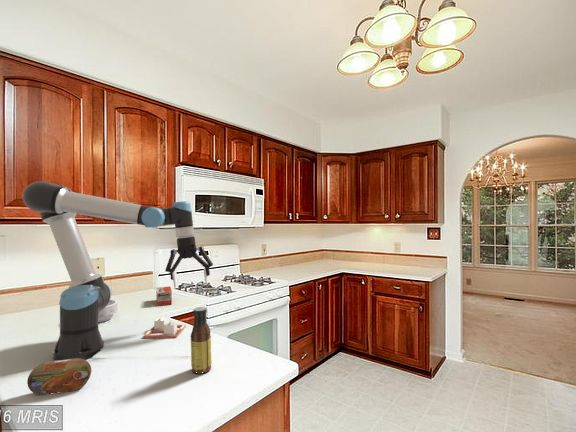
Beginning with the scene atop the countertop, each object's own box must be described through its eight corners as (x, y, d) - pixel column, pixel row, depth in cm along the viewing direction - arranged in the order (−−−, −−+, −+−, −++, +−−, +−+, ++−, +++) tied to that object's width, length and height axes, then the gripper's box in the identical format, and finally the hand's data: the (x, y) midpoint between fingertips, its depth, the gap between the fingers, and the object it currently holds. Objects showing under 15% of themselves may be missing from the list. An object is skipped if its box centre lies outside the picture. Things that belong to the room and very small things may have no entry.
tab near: (173, 336, 126) (173, 323, 127) (163, 336, 126) (163, 324, 126) (176, 333, 130) (176, 320, 130) (167, 333, 130) (167, 320, 130)
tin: (26, 397, 86) (26, 366, 86) (32, 391, 89) (32, 361, 89) (89, 389, 90) (89, 359, 90) (92, 383, 93) (92, 355, 93)
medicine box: (156, 300, 189) (156, 287, 189) (170, 299, 192) (170, 286, 193) (156, 306, 175) (156, 292, 175) (172, 305, 179) (172, 291, 179)
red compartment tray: (176, 341, 125) (176, 335, 125) (143, 341, 124) (143, 335, 124) (185, 329, 138) (185, 324, 138) (155, 330, 137) (155, 324, 137)
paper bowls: (76, 326, 142) (76, 309, 143) (86, 316, 157) (86, 300, 157) (114, 323, 147) (114, 306, 147) (120, 313, 162) (120, 298, 162)
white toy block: (163, 331, 132) (163, 319, 132) (154, 331, 132) (154, 319, 132) (167, 328, 136) (167, 316, 136) (157, 328, 136) (157, 316, 136)
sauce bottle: (203, 364, 105) (203, 304, 105) (215, 369, 101) (215, 307, 101) (186, 371, 100) (186, 308, 100) (198, 377, 96) (198, 312, 96)
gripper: (215, 232, 141) (221, 279, 141) (160, 239, 141) (166, 286, 141) (211, 234, 133) (217, 283, 134) (153, 241, 133) (159, 290, 134)
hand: (191, 285), depth 137 cm, fingers open, 13 cm apart
